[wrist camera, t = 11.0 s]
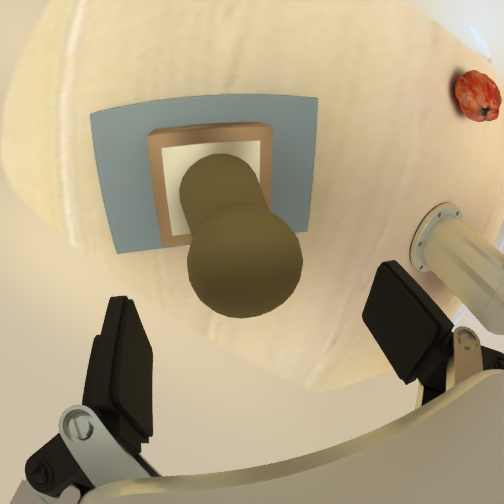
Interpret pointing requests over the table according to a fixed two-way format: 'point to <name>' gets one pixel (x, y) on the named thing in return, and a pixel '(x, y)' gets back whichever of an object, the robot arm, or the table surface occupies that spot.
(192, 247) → the cork
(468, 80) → the pomegranate
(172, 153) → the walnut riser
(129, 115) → the board
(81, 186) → the table surface
